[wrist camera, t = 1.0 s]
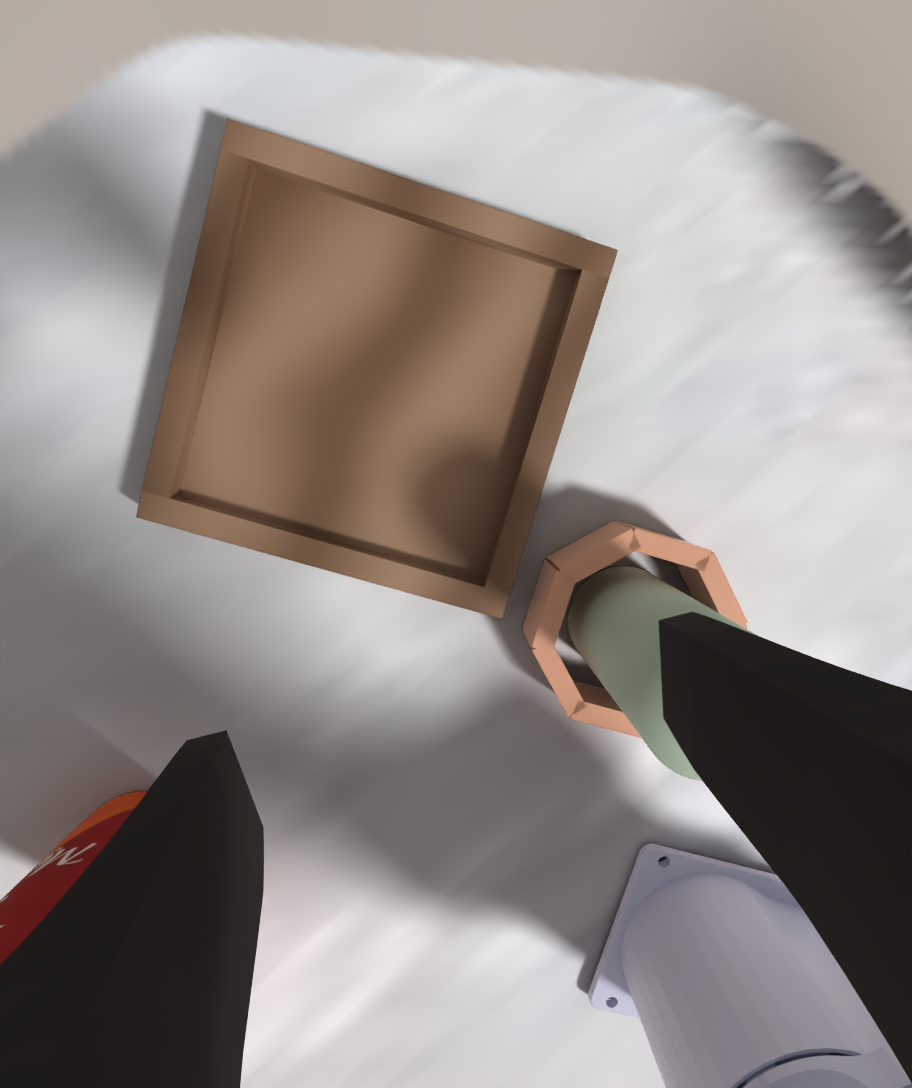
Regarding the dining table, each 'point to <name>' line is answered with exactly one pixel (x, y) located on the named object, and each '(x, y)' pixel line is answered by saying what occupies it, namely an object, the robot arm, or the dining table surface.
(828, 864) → the robot arm
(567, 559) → the orange octagonal ring
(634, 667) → the green pin
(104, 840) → the paper cup
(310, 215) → the serving tray
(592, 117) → the dining table surface
